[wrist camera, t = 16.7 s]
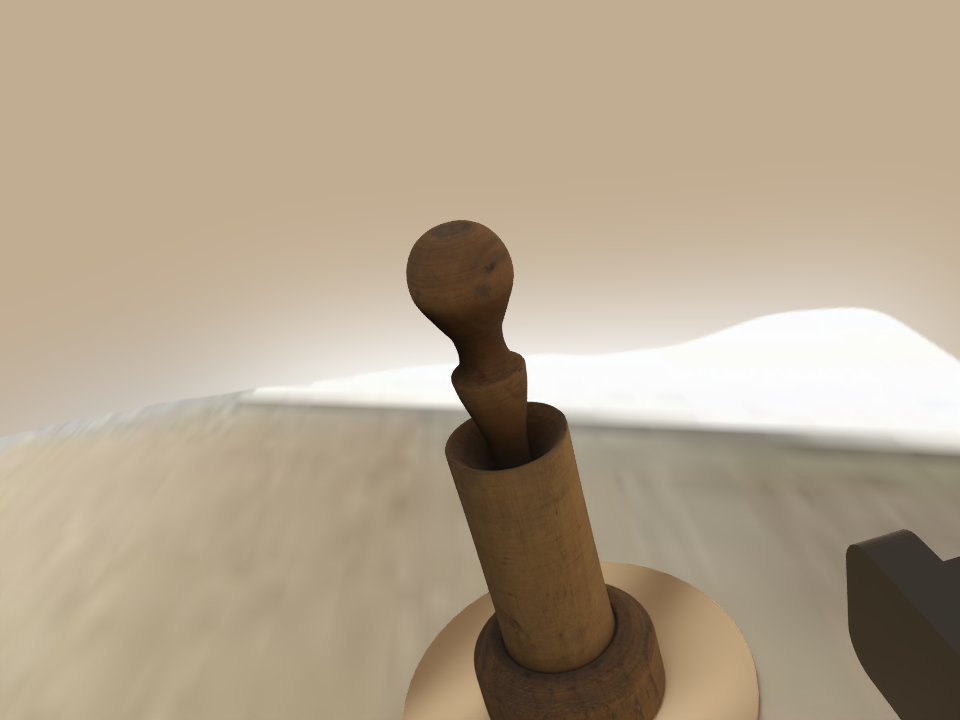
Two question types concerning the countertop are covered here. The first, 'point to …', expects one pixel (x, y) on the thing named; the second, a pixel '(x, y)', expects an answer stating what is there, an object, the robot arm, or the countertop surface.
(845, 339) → the countertop surface
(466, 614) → the cork trivet
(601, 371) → the countertop surface
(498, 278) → the mortar and pestle
